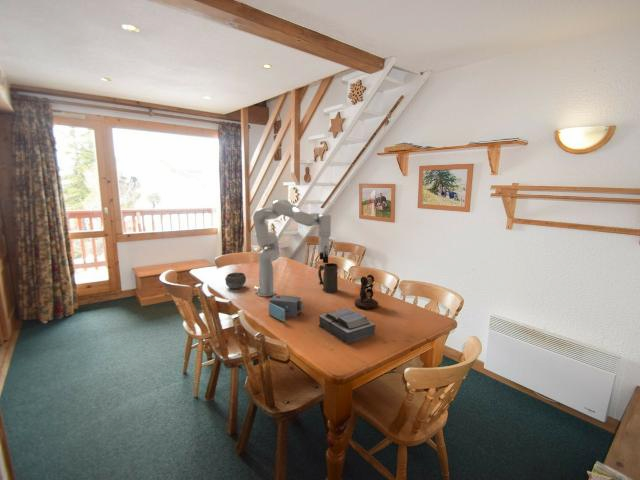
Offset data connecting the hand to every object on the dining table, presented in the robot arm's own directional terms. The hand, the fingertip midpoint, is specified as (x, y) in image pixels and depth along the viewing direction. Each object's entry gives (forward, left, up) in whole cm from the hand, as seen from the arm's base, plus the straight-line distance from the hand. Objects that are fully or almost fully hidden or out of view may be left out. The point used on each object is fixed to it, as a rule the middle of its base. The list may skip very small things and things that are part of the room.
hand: (323, 261), depth 198 cm
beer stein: (-1, +28, -29) cm, 40 cm away
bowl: (-67, +17, -29) cm, 75 cm away
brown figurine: (+28, +4, -29) cm, 40 cm away
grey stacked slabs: (+18, -34, -29) cm, 49 cm away
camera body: (-18, -19, -28) cm, 39 cm away
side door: (-22, -29, -28) cm, 46 cm away
